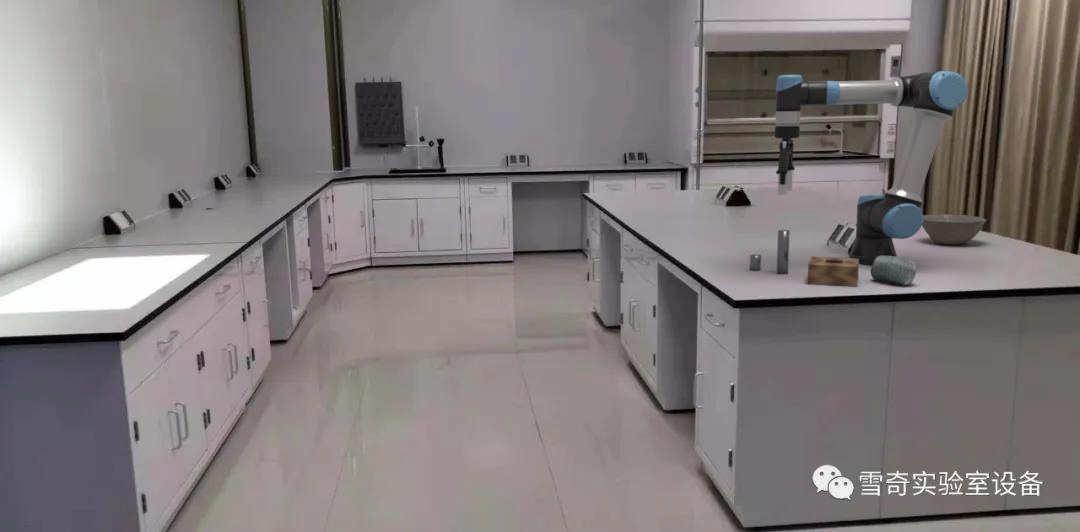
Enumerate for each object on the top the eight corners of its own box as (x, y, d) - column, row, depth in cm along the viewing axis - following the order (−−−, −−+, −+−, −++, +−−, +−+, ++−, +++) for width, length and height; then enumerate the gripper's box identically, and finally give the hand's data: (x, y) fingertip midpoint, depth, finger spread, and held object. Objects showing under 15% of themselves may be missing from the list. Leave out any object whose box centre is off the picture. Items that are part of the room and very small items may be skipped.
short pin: (761, 269, 272) (761, 254, 271) (759, 271, 269) (760, 256, 268) (750, 268, 274) (751, 254, 273) (749, 270, 270) (749, 255, 270)
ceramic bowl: (995, 248, 301) (998, 221, 299) (932, 249, 301) (934, 222, 299) (965, 238, 323) (967, 213, 321) (907, 239, 323) (908, 214, 321)
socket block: (857, 277, 257) (858, 258, 255) (856, 286, 244) (857, 267, 243) (811, 274, 262) (812, 256, 261) (807, 283, 249) (808, 264, 248)
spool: (858, 270, 252) (877, 242, 250) (876, 280, 257) (894, 253, 255) (891, 288, 240) (911, 260, 238) (909, 299, 245) (928, 271, 243)
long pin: (788, 272, 266) (790, 230, 264) (787, 274, 263) (788, 231, 260) (777, 271, 268) (778, 229, 265) (776, 273, 264) (777, 231, 262)
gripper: (779, 124, 269) (777, 188, 273) (770, 126, 246) (767, 196, 250) (803, 124, 266) (800, 189, 270) (795, 126, 243) (793, 197, 248)
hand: (784, 192), depth 260 cm, fingers open, 13 cm apart
